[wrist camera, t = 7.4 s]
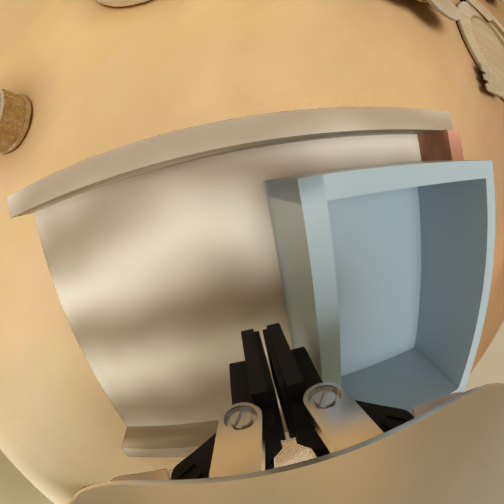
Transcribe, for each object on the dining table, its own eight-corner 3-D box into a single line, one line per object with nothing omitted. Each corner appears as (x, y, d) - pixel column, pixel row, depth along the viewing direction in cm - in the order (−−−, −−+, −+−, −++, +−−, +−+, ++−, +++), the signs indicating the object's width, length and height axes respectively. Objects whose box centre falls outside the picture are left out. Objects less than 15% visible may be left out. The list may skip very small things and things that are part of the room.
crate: (415, 346, 18) (463, 391, 12) (298, 389, 17) (324, 458, 11) (415, 161, 14) (491, 160, 8) (263, 180, 14) (297, 178, 8)
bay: (420, 358, 20) (445, 382, 16) (135, 427, 19) (127, 460, 15) (416, 119, 15) (454, 111, 11) (39, 193, 13) (1, 198, 10)
